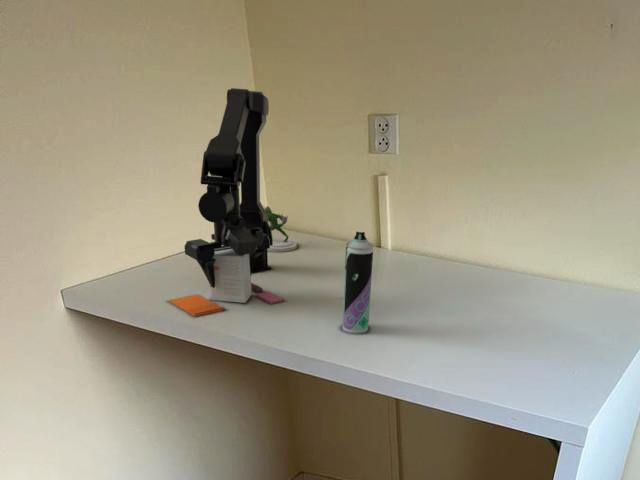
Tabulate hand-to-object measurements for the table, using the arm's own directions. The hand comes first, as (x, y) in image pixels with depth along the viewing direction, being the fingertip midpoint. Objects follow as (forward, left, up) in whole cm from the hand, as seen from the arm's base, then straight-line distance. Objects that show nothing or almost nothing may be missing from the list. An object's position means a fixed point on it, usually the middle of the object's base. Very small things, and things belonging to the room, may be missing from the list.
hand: (230, 283), depth 153 cm
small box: (0, 0, -4) cm, 4 cm away
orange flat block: (+9, 0, -3) cm, 10 cm away
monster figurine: (-34, -30, -4) cm, 46 cm away
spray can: (-11, +30, -4) cm, 32 cm away
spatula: (-7, 0, -3) cm, 8 cm away
